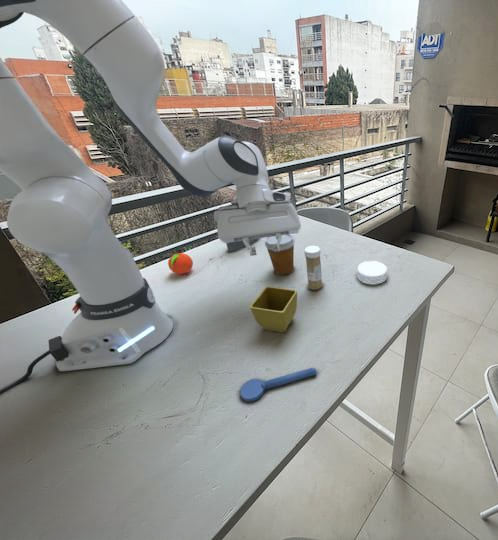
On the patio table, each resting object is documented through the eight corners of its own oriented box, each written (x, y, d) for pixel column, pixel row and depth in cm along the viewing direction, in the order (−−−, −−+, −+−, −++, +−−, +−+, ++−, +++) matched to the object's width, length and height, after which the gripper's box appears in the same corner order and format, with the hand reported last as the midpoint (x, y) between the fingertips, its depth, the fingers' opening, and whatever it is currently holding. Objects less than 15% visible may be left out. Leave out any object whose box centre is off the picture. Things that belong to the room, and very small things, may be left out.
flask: (262, 239, 117) (254, 196, 107) (232, 253, 107) (220, 207, 97) (256, 236, 119) (247, 194, 109) (226, 250, 108) (214, 205, 99)
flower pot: (287, 339, 70) (283, 312, 66) (255, 334, 72) (248, 307, 67) (301, 316, 78) (297, 290, 73) (271, 311, 79) (266, 285, 74)
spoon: (241, 404, 56) (239, 400, 55) (241, 385, 59) (239, 380, 59) (318, 381, 61) (318, 376, 60) (314, 364, 64) (313, 360, 63)
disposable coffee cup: (302, 272, 96) (299, 240, 90) (275, 280, 92) (269, 248, 85) (291, 260, 103) (287, 229, 97) (265, 267, 98) (259, 236, 92)
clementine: (187, 280, 91) (179, 261, 88) (165, 279, 92) (157, 260, 88) (199, 267, 98) (193, 249, 94) (179, 266, 98) (172, 248, 94)
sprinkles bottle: (305, 285, 90) (301, 248, 83) (317, 280, 92) (314, 243, 85) (313, 292, 87) (310, 254, 80) (325, 286, 90) (323, 249, 82)
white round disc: (380, 266, 100) (380, 258, 98) (391, 282, 92) (392, 273, 90) (353, 271, 97) (353, 262, 95) (362, 287, 89) (362, 278, 87)
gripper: (209, 202, 68) (218, 256, 66) (294, 193, 74) (305, 243, 72) (215, 213, 74) (223, 263, 72) (294, 204, 80) (303, 250, 78)
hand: (265, 253), depth 72 cm, fingers open, 4 cm apart
